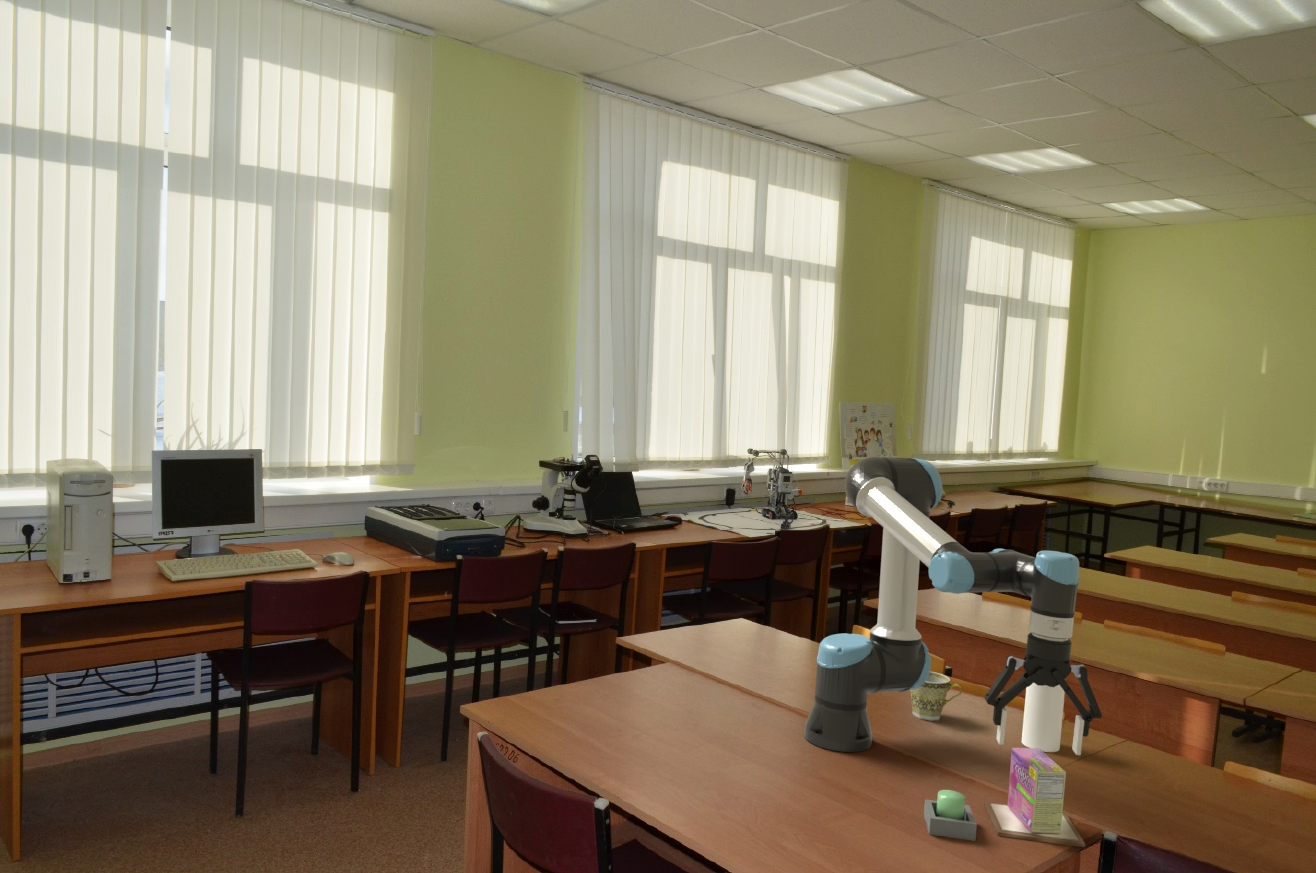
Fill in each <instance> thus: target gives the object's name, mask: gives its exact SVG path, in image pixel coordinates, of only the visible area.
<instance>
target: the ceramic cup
mask: <svg viewBox="0 0 1316 873" xmlns="http://www.w3.org/2000/svg"><path fill="white" fill-rule="evenodd" d="M950 683H951V678H950V677H948V676H947V675H944V674H943V673H939V672H935V671H931V670H930V673H929V676H928V678H927V680H926V681H925V683H924V684H923V685H921V686H920V687H919V688H917V689H914V690H909V691H910V696H911V697H910V698H911V710H912V715H913V716H914V717H915V718H917V717H918V719H920V720H926V721H939V720H940V719H941V714H942V711H943V709H944V706H946V704H947V703H949V702H951V701H952V700H954V699H956V698H957V697H959V696H961V695H962V693H963V687H962V686H961V684H959V683H956V682H955V683H952V684H950ZM954 687H958V688H960V692H959V693H958V694H957V693H956V694H955V695H953V696H951V698H949V699H946V698H947V693H948V692H949V691H950V690H951V689H952V688H954Z"/></svg>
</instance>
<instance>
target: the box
mask: <svg viewBox="0 0 1316 873" xmlns="http://www.w3.org/2000/svg"><path fill="white" fill-rule="evenodd" d="M1010 755H1011V756H1010V769H1009V783H1008V794H1007V805H1008V807H1009V808H1010V809H1011V811H1012V812H1013V813H1014V814H1015V815H1016V816H1017V817H1018V818H1019V819H1020V821H1021V822H1022V823H1023V824H1024V825H1025V826H1026V827H1027V828H1028V829H1029V831H1030V832H1031V833H1061V822H1062V812H1064V811H1063V810H1064V809H1063V808H1064V798H1065V788H1066V777H1067V776H1066V775H1067V772H1066V771H1065V769H1063V767H1061V766H1060V765H1059V764H1058V763H1056V762H1055V761H1054V760H1053V759H1052V758H1051V757H1050V756H1048V755H1047V754H1046V753H1045V752H1043V751H1041V750H1040V749H1036V748H1029V747H1011V753H1010Z"/></svg>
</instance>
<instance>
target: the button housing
mask: <svg viewBox="0 0 1316 873" xmlns="http://www.w3.org/2000/svg"><path fill="white" fill-rule="evenodd" d="M923 806H924V807H923V808H924V809H923V817H924V820H925V825H926V829H927V833H928V835H930V836H937V837H938V836H939V837H945V838H952V839H960V840H966V841H975V842H976V838H977V828H978V827H977V826H978V824H977V821H976V820H975V816H974V814H973V812H972V808H971V807H970V805H969V804H965V808H964V819H963V820H958V819H950V818H943V817H936V810H937V800H932V799H924V805H923Z"/></svg>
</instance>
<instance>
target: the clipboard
mask: <svg viewBox="0 0 1316 873" xmlns="http://www.w3.org/2000/svg"><path fill="white" fill-rule="evenodd" d="M984 807H985V810H986V812H987V813H988V816H989V819H990V822H991V824H992V826H993V828H994V830H995V832H996V835H997V836H1000V837H1006V838H1015V839H1021V840H1029V841H1034V842H1035V841H1036V842H1043V843H1050V844H1058V845H1064V846H1072V847H1080V848H1086V843H1085V841H1084V840H1083V837H1081V835H1080V833H1079V832H1078V830H1077V828H1076V827H1075V825H1074V823H1073V822H1072V820H1071V819H1070V817H1069V815H1068V813H1067V812H1064V811H1062V822H1061V833H1031V832H1030V831H1029V829H1028V828H1027V827H1026V826H1025V825H1024V824H1023V823H1022V822H1021V821H1020V819H1019V818H1018V817H1017V816H1016V815H1015V814H1014V813H1013V812H1012V811H1011V809H1010V808H1009V807H1008V804H1004V803H997V802H991V801H984Z"/></svg>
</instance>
